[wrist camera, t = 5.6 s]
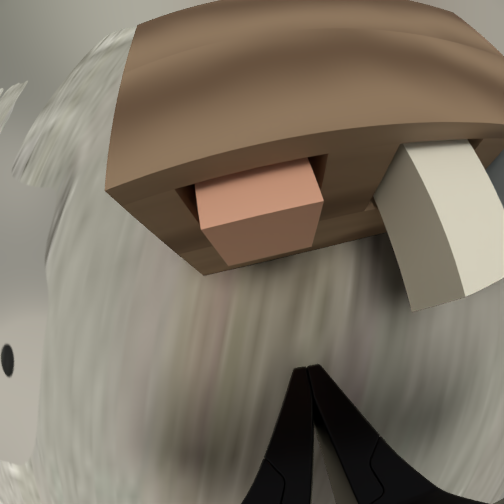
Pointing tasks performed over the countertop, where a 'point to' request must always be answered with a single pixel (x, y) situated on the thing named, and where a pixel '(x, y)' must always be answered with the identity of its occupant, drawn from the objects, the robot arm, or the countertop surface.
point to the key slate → (497, 175)
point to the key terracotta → (260, 210)
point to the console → (293, 106)
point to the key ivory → (442, 221)
